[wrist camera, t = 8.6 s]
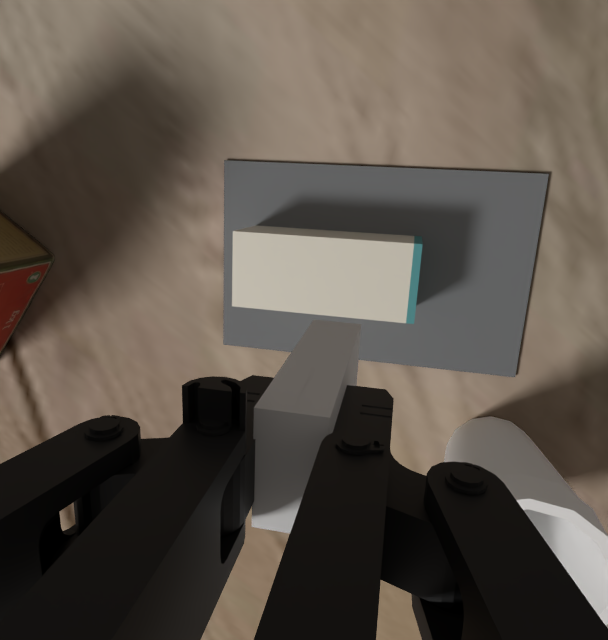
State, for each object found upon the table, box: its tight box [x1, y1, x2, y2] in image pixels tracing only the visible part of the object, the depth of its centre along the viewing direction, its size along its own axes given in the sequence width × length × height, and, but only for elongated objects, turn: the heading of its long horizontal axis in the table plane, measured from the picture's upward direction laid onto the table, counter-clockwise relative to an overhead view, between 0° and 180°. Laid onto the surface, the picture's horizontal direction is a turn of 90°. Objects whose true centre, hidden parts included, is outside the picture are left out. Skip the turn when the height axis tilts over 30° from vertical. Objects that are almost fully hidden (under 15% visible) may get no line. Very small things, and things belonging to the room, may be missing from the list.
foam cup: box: [444, 416, 608, 625], centre depth 33 cm, size 10×9×13 cm
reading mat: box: [223, 160, 549, 377], centre depth 37 cm, size 22×14×1 cm, turn 87°
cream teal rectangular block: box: [232, 226, 423, 324], centre depth 35 cm, size 5×5×12 cm
